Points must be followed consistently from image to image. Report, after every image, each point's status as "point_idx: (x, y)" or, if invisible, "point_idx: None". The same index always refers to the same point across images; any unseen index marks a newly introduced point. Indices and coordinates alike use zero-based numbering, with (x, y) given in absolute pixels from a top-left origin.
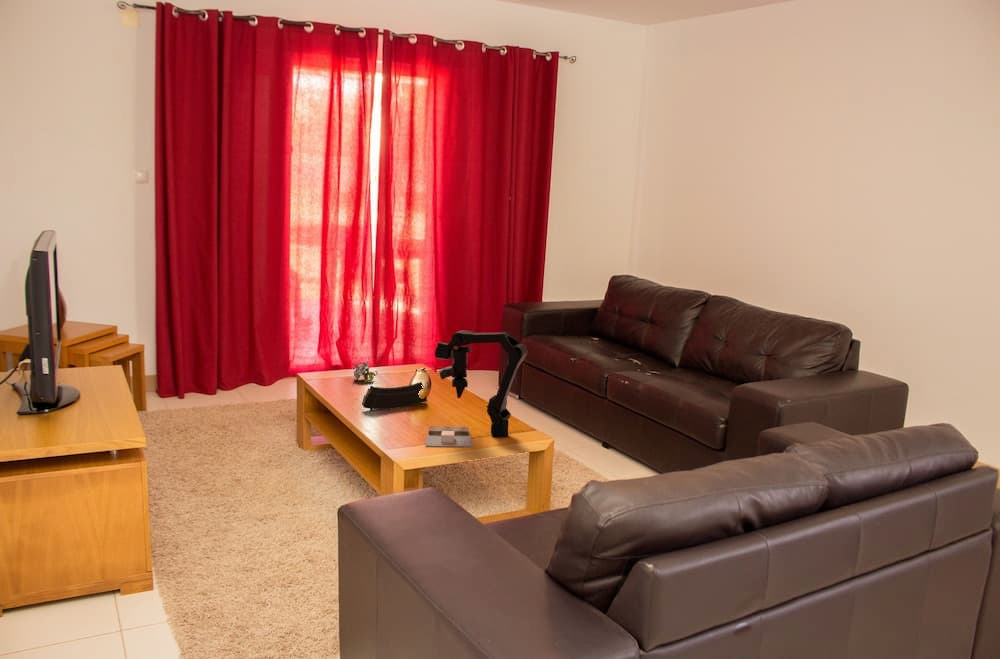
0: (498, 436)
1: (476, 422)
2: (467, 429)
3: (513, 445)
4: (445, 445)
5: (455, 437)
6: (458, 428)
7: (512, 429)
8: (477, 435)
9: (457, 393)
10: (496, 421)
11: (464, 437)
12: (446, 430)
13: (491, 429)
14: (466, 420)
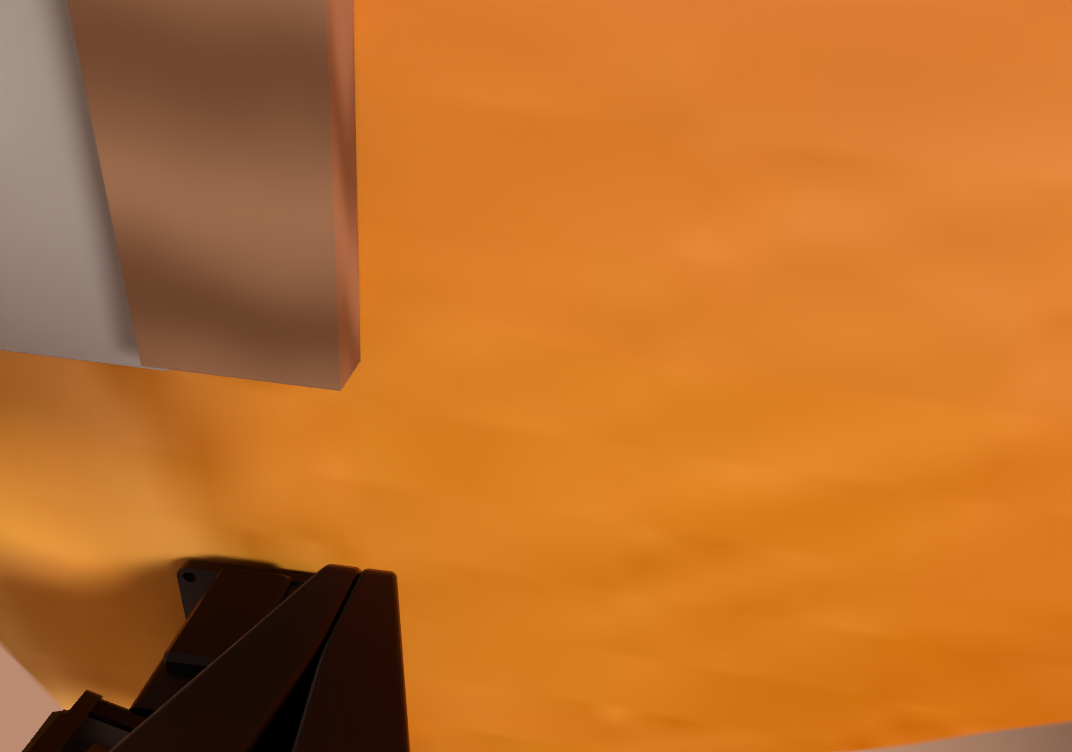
0: (184, 607)
1: (687, 501)
2: (218, 366)
3: (17, 657)
4: None
5: (26, 162)
6: (242, 252)
7: (438, 727)
8: (225, 437)
9: (174, 719)
10: (26, 748)
11: (60, 283)
12: (106, 36)
13: (196, 608)
14: (791, 409)
